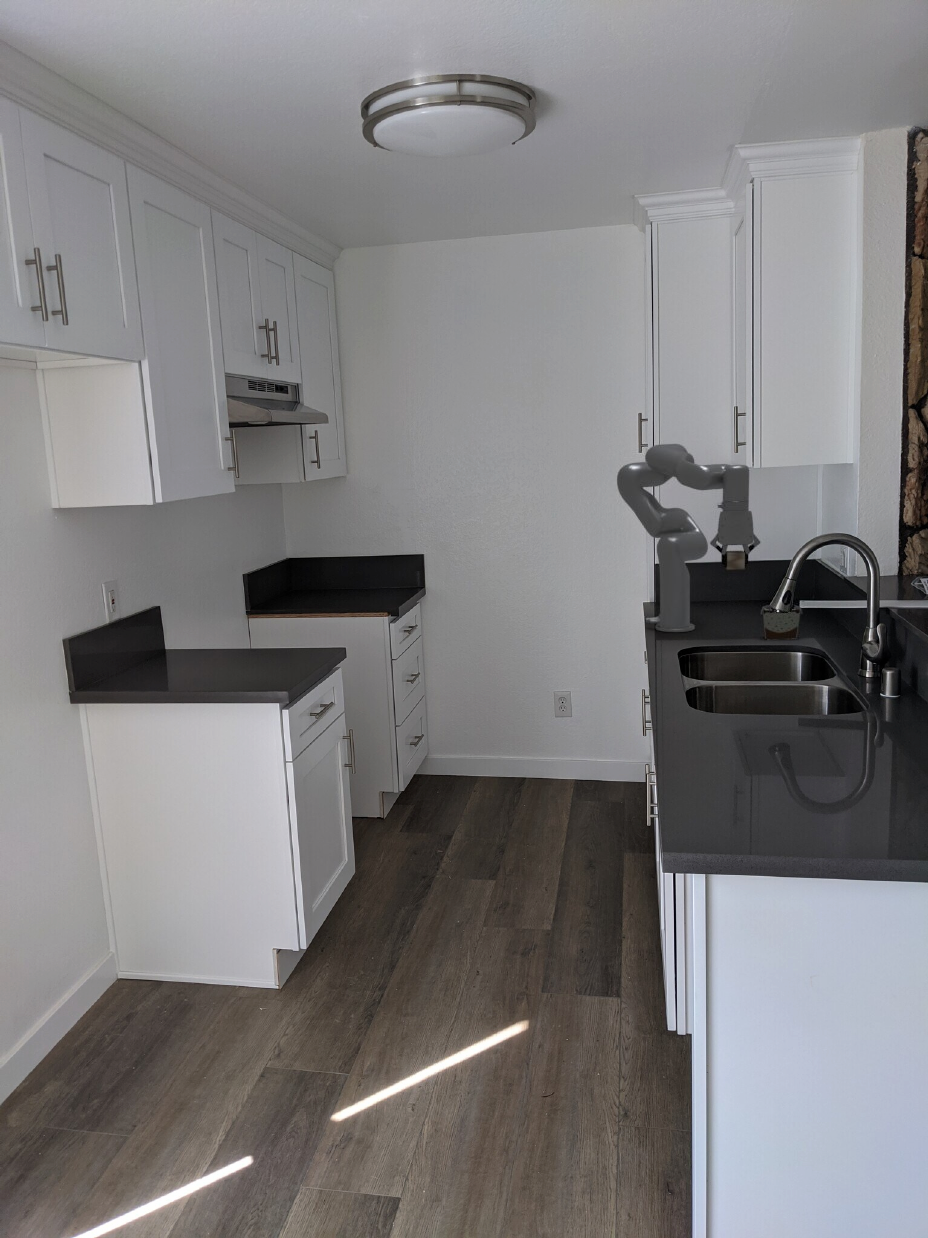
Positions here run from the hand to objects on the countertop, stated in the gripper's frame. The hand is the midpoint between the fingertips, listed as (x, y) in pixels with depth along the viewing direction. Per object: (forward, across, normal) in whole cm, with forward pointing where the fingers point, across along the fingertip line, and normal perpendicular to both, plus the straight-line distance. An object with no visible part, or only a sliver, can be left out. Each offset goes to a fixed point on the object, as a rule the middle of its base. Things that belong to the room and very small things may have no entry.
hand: (734, 566), depth 283 cm
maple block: (+1, 0, 0) cm, 1 cm away
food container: (+23, +14, +4) cm, 28 cm away
